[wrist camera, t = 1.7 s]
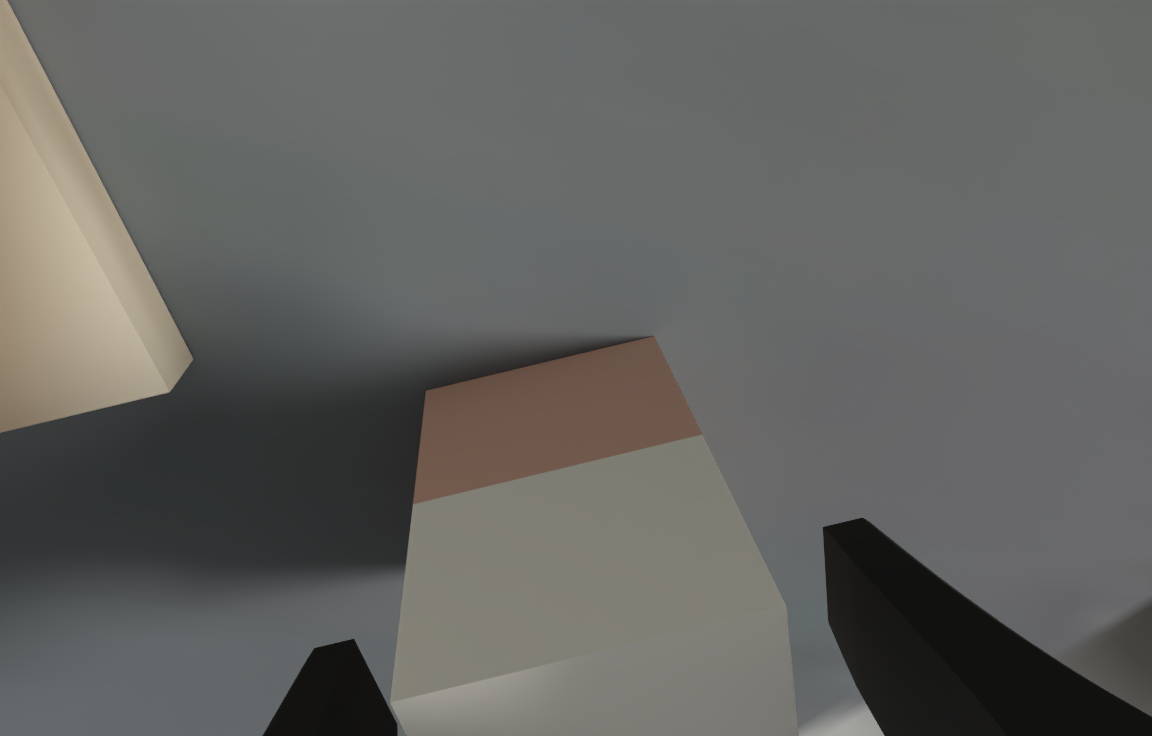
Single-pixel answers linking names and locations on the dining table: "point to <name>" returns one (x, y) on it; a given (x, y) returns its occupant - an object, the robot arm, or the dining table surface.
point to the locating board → (67, 266)
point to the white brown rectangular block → (583, 565)
